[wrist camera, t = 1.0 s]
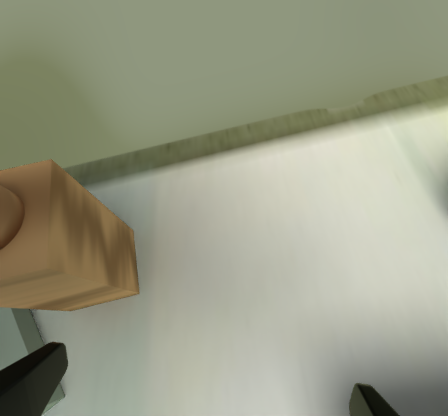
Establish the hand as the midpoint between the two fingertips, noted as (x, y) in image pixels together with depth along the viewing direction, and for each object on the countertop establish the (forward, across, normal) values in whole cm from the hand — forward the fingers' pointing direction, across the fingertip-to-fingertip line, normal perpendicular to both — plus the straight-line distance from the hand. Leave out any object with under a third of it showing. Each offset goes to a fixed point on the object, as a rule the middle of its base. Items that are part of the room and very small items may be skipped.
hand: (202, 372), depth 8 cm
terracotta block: (+14, +12, +6) cm, 19 cm away
